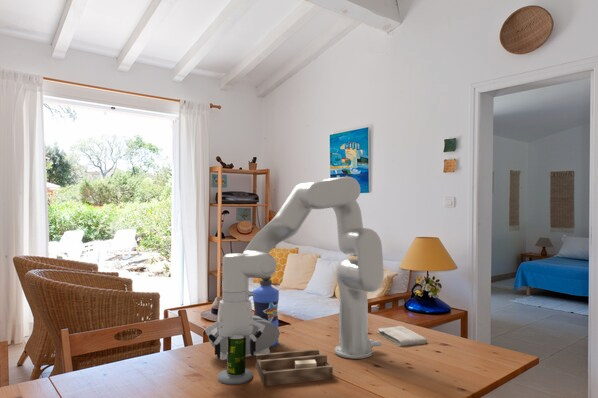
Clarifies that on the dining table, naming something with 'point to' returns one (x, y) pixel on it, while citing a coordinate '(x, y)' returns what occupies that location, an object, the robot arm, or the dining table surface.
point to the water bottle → (266, 302)
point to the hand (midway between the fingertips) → (235, 355)
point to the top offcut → (305, 363)
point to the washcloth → (401, 336)
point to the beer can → (236, 355)
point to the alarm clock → (262, 343)
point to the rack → (292, 367)
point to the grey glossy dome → (227, 379)
